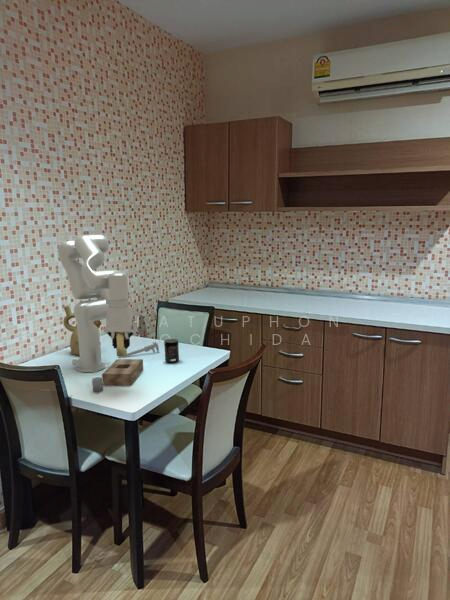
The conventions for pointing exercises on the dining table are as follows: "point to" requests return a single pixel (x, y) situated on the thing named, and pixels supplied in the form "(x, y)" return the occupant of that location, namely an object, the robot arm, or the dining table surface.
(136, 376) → the hole block
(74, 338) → the ceramic vessel
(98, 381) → the short pin
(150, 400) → the dining table surface
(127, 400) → the dining table surface
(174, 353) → the supplement container
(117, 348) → the long pin
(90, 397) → the dining table surface
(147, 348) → the caliper
